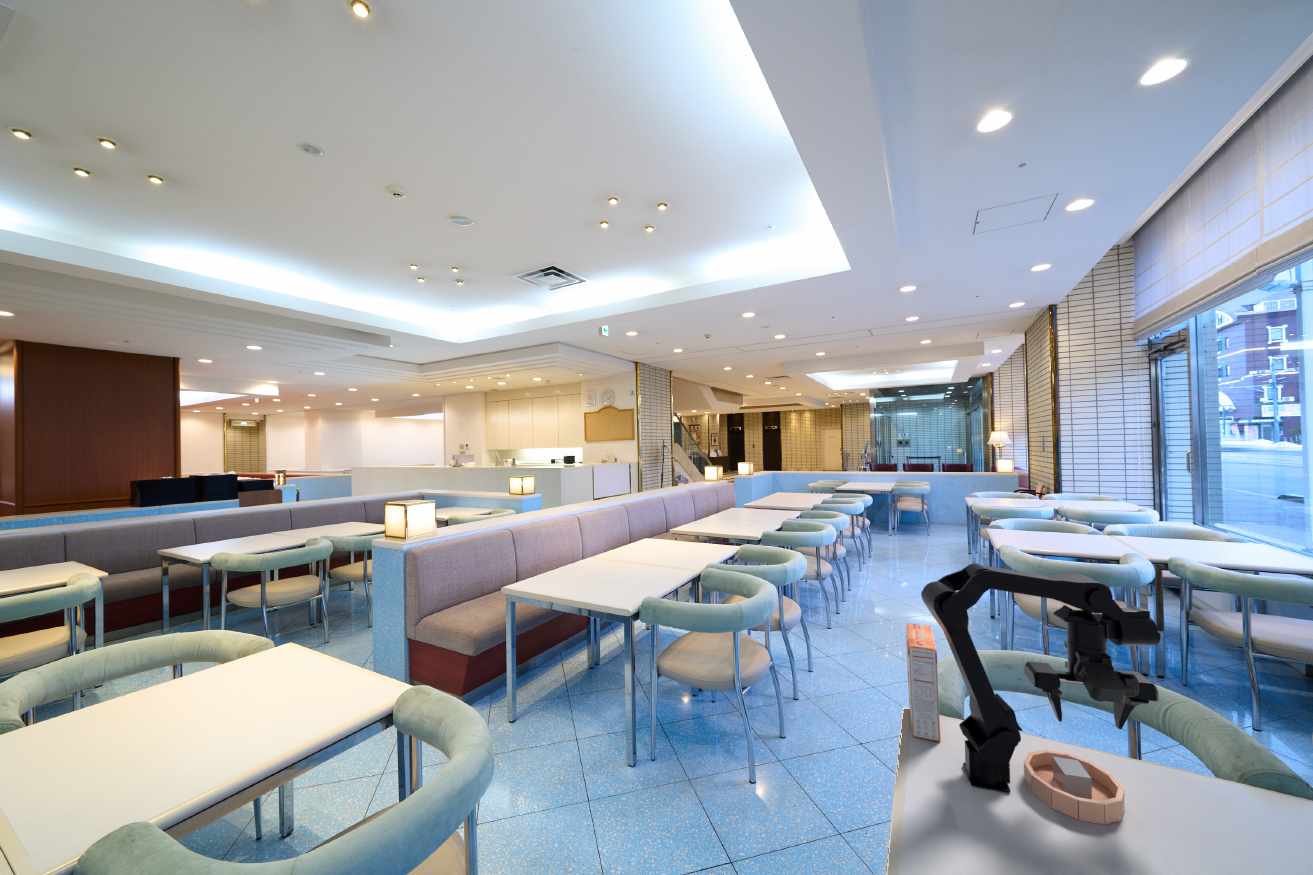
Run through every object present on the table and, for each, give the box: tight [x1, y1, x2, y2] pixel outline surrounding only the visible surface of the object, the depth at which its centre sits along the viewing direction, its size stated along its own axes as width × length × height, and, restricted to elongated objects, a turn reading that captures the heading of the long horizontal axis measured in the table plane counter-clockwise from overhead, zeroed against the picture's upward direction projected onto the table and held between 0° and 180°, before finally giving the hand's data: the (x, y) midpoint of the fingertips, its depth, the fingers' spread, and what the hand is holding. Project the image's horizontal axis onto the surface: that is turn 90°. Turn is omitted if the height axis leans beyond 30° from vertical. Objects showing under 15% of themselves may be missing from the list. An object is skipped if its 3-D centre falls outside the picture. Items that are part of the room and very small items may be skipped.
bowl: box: [1023, 749, 1126, 825], centre depth 92 cm, size 14×14×4 cm
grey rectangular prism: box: [1053, 757, 1092, 799], centre depth 92 cm, size 4×5×4 cm
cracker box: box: [905, 623, 941, 743], centre depth 115 cm, size 14×6×21 cm, turn 155°
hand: (1088, 724), depth 93 cm, fingers open, 9 cm apart
